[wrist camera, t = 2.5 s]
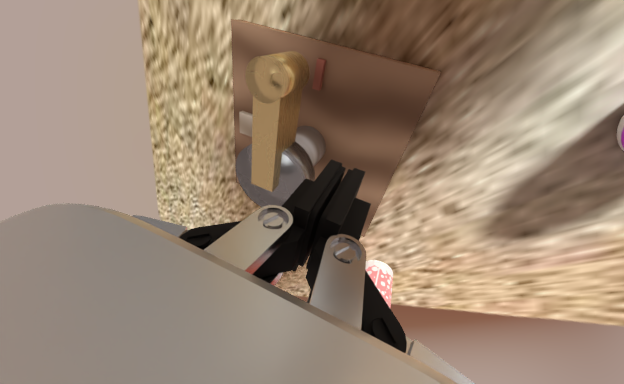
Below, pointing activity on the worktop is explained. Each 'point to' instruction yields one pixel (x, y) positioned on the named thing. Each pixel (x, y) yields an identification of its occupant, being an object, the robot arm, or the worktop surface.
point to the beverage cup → (381, 278)
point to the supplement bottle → (621, 133)
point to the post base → (339, 104)
